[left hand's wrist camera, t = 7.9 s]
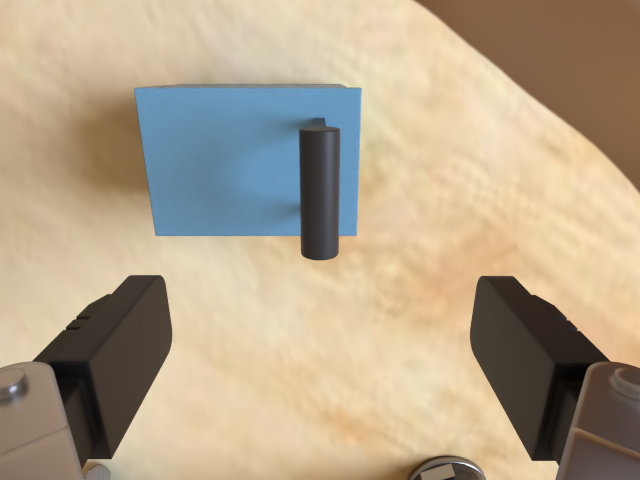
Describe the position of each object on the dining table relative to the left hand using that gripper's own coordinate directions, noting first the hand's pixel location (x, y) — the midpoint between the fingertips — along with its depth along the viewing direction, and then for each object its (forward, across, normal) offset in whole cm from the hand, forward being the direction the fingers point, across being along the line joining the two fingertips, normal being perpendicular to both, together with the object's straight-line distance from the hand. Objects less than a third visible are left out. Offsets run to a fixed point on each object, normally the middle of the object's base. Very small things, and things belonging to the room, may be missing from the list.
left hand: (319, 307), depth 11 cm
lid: (+19, +4, 0) cm, 19 cm away
